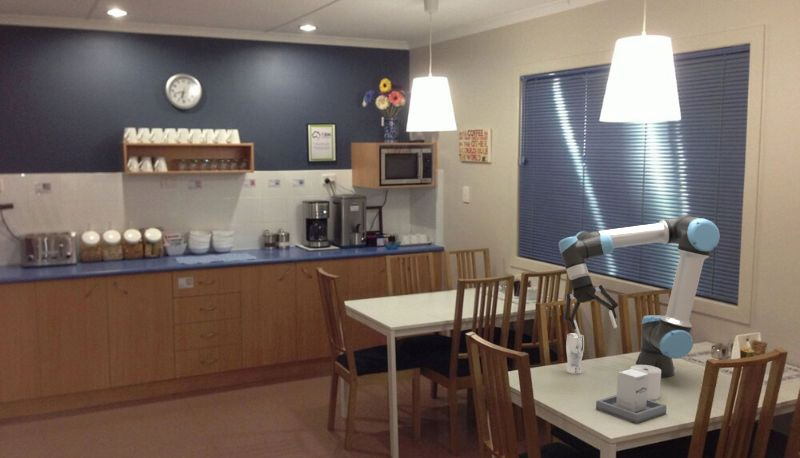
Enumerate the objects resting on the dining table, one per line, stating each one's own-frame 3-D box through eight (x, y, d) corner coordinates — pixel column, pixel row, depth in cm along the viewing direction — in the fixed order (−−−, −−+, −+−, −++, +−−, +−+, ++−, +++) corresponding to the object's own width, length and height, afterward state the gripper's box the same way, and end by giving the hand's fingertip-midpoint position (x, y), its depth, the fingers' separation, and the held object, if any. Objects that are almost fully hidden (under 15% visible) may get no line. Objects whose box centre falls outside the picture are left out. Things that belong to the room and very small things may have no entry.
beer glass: (583, 375, 289) (584, 338, 288) (565, 373, 291) (566, 337, 289) (582, 369, 296) (584, 333, 295) (564, 368, 298) (566, 332, 296)
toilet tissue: (653, 390, 272) (655, 364, 271) (665, 402, 260) (667, 374, 259) (625, 390, 272) (626, 364, 271) (635, 401, 260) (637, 374, 259)
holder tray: (625, 400, 261) (626, 392, 260) (666, 413, 248) (666, 405, 247) (595, 409, 251) (596, 400, 251) (636, 423, 238) (636, 415, 238)
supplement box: (633, 413, 244) (635, 377, 243) (615, 407, 250) (617, 371, 249) (647, 409, 249) (649, 373, 247) (628, 403, 255) (630, 368, 253)
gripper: (609, 270, 275) (628, 324, 270) (546, 288, 276) (563, 342, 271) (613, 267, 268) (632, 322, 263) (548, 285, 269) (566, 341, 263)
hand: (597, 332), depth 267 cm, fingers open, 13 cm apart
